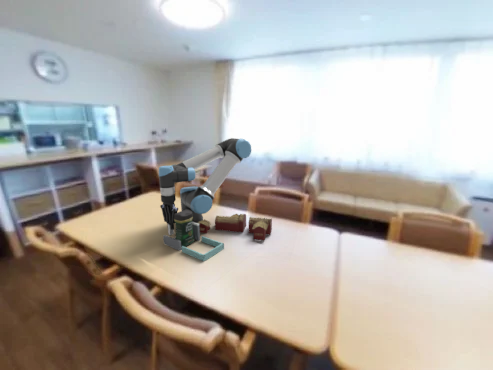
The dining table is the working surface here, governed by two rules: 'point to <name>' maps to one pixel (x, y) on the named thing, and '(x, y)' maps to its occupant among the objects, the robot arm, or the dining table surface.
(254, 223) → the toy houses
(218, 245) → the teal u-shaped frame
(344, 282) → the dining table surface
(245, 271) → the dining table surface
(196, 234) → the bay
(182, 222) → the coffee jar
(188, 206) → the robot arm
